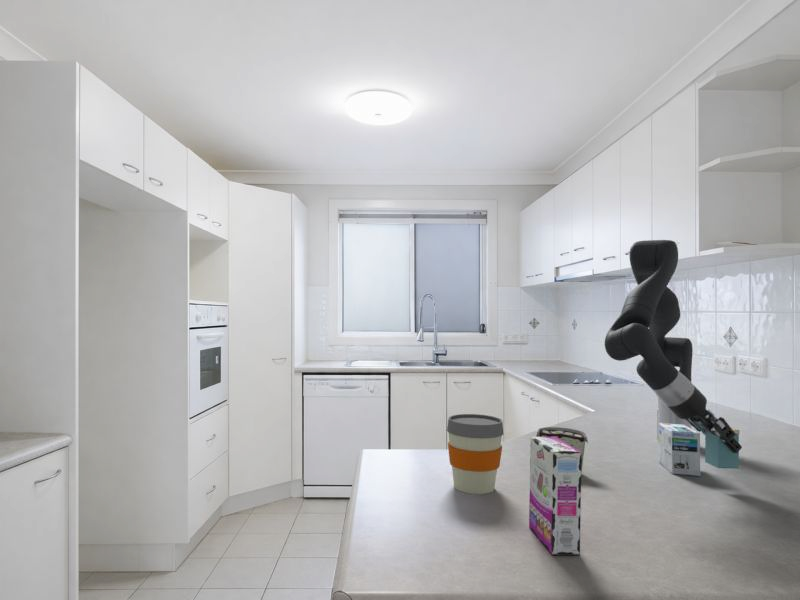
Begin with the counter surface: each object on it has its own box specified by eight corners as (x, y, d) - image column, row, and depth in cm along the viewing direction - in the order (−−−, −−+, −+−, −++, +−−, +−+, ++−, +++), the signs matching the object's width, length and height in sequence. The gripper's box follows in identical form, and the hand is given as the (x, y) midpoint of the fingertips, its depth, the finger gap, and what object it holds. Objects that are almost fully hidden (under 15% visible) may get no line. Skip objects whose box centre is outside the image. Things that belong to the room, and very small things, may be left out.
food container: (589, 469, 124) (589, 430, 124) (587, 476, 118) (588, 435, 118) (539, 462, 129) (540, 424, 129) (535, 469, 123) (536, 429, 124)
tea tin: (704, 461, 114) (704, 424, 114) (724, 462, 114) (724, 425, 114) (718, 468, 109) (718, 429, 109) (739, 468, 109) (739, 430, 109)
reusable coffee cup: (467, 500, 100) (468, 427, 101) (435, 482, 111) (436, 416, 112) (514, 492, 106) (515, 422, 107) (479, 475, 117) (480, 412, 118)
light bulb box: (701, 476, 120) (701, 432, 121) (671, 474, 122) (671, 430, 122) (685, 464, 131) (685, 423, 131) (657, 462, 132) (657, 422, 132)
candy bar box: (582, 556, 78) (583, 452, 78) (552, 556, 77) (553, 452, 78) (554, 526, 89) (555, 435, 89) (527, 526, 88) (528, 435, 89)
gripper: (710, 386, 105) (765, 444, 105) (671, 378, 119) (720, 428, 119) (685, 411, 105) (741, 468, 104) (650, 399, 119) (698, 449, 119)
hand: (729, 446), depth 112 cm, fingers closed on tea tin, 4 cm apart
